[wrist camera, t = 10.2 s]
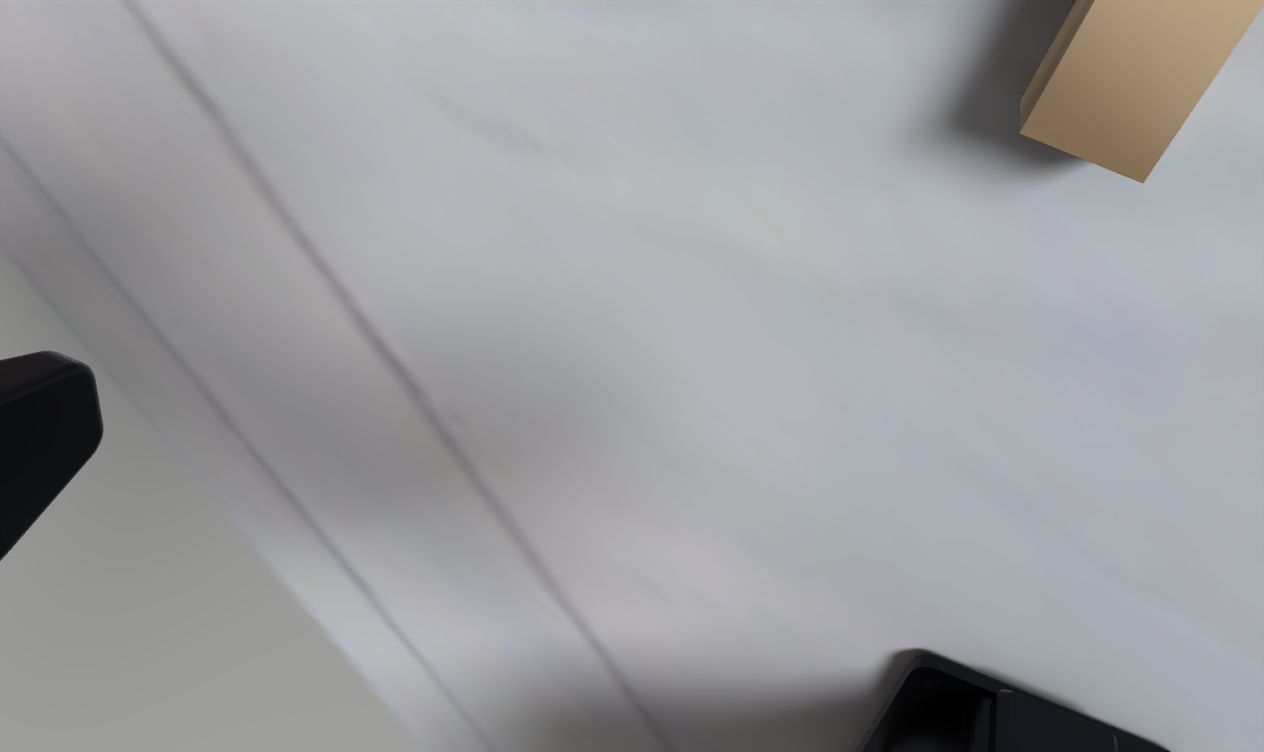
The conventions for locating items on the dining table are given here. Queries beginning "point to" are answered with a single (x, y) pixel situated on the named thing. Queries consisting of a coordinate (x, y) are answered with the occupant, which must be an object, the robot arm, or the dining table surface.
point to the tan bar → (1129, 76)
